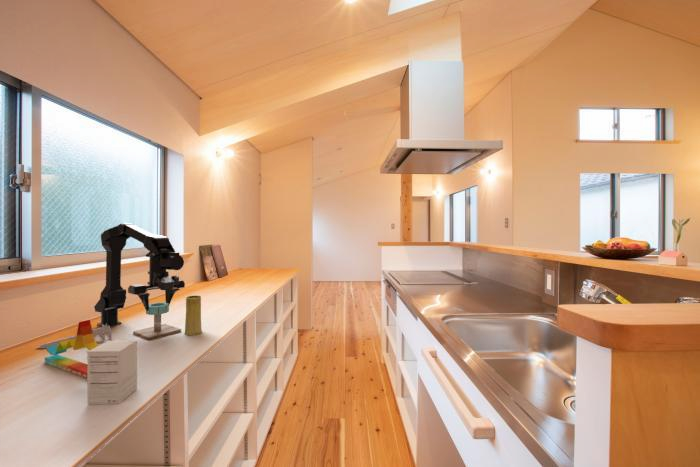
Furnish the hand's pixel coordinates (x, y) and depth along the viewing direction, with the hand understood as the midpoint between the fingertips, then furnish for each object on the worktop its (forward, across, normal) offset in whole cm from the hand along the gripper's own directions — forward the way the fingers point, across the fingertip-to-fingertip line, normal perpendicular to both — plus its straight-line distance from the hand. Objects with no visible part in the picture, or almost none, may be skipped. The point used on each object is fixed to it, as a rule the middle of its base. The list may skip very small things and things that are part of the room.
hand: (157, 308), depth 124 cm
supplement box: (+10, -30, -40) cm, 51 cm away
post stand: (+10, 0, 0) cm, 10 cm away
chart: (+10, -30, -16) cm, 35 cm away
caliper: (+10, -22, +11) cm, 27 cm away
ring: (+2, 0, 0) cm, 2 cm away
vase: (+10, +8, -11) cm, 17 cm away
